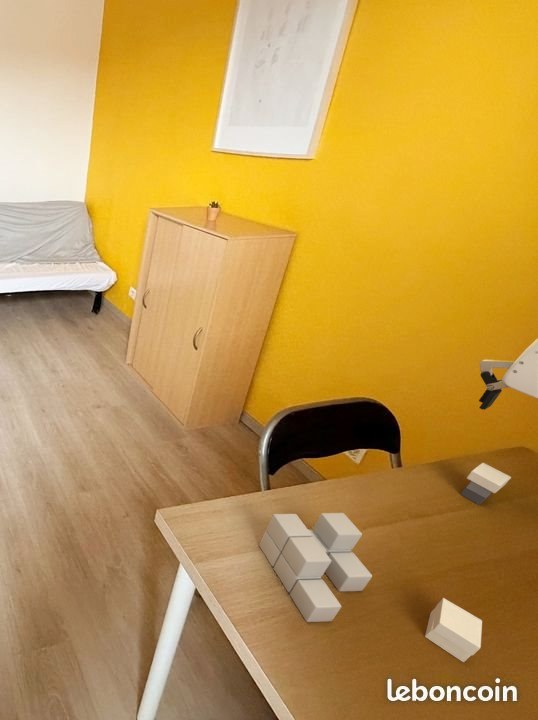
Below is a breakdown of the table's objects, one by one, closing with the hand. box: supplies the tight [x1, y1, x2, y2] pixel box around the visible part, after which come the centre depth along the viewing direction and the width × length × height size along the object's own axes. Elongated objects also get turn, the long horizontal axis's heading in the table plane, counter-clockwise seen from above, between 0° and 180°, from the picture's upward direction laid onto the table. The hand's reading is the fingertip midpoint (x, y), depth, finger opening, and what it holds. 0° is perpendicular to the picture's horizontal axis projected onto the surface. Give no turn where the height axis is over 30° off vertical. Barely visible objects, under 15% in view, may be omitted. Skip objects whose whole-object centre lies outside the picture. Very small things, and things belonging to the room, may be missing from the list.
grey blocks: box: [460, 480, 493, 506], centre depth 80 cm, size 5×3×4 cm, turn 116°
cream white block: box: [466, 462, 512, 494], centre depth 79 cm, size 5×4×2 cm
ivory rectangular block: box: [424, 597, 483, 663], centre depth 58 cm, size 5×4×4 cm
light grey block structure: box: [258, 512, 373, 623], centre depth 64 cm, size 12×12×8 cm
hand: (520, 423), depth 74 cm, fingers open, 9 cm apart
